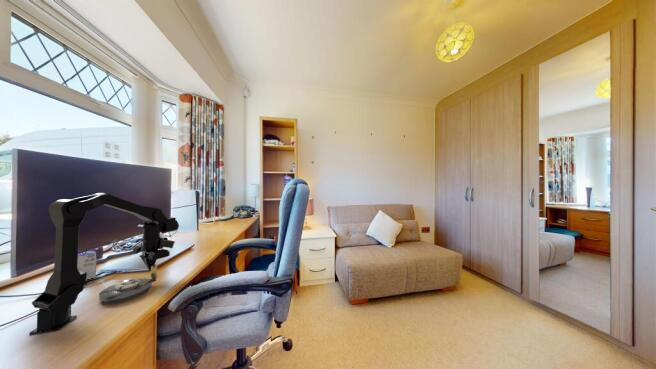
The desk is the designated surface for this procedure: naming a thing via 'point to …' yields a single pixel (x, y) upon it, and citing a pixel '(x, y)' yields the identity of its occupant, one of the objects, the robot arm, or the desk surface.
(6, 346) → the desk surface
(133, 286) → the cover
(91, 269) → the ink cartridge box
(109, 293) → the turntable
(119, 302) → the turntable base
